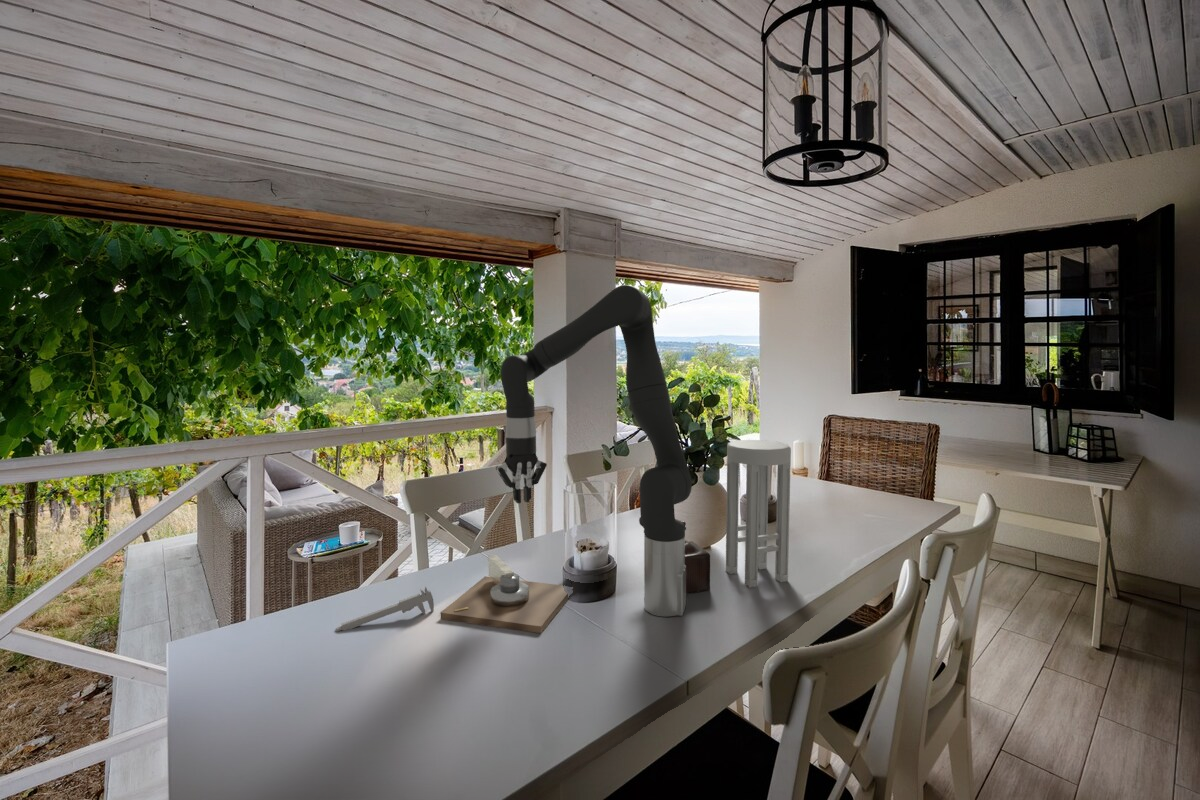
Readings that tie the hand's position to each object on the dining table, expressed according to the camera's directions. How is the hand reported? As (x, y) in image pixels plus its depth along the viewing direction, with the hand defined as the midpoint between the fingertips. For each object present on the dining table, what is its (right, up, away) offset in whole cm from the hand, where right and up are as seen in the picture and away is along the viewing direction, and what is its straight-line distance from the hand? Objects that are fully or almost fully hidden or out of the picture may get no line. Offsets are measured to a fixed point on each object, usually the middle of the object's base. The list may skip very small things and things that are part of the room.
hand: (522, 501), depth 145 cm
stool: (+61, -21, +5) cm, 64 cm away
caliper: (-28, -23, -19) cm, 41 cm away
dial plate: (-1, -22, -11) cm, 25 cm away
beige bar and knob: (-3, -20, -8) cm, 22 cm away
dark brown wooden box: (+38, -21, -1) cm, 44 cm away
